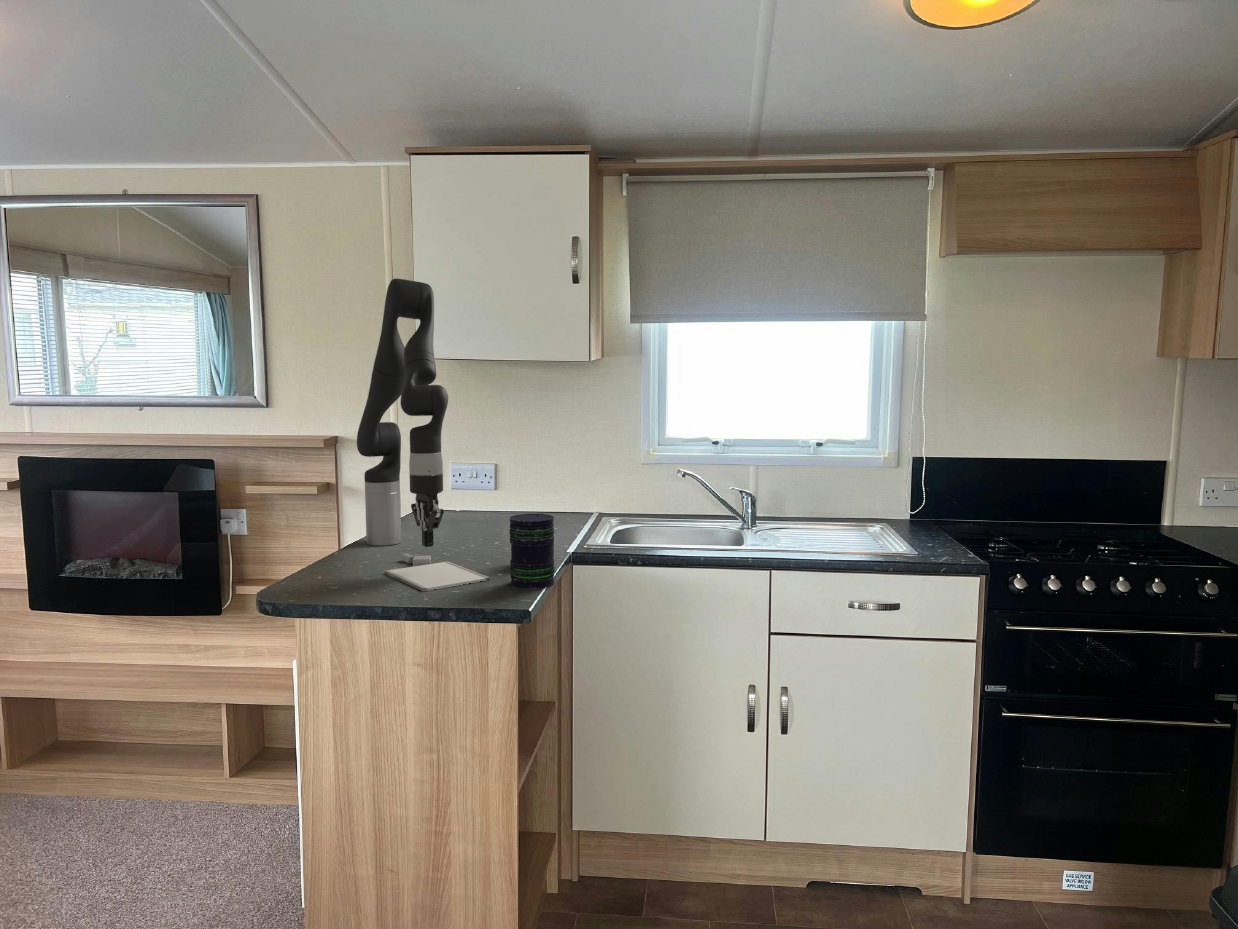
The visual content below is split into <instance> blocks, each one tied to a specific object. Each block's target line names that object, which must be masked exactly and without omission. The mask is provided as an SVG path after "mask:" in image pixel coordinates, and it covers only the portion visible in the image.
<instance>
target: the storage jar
mask: <svg viewBox="0 0 1238 929" xmlns="http://www.w3.org/2000/svg"><path fill="white" fill-rule="evenodd" d="M554 518H555V517H554V515H552V514H551V515H550V514H547V513H544V514H543V513H523V514H516V515H514V514H513V515H511V516H510V517H509V533H508V534H509V543H510V551H511V555H510V561H509V562H510V563H509V564H510V566H509V574H510V580H511V581H510V586H511V588H515V589H520V590H541V589H548V588H550V587H553V586H554V585H555V580H554V577H555V574H554V573H555V572H556V571H555V558H554V559H553V542H554V543H555V535H554V534H555V528H554V527H555V523H554Z"/></svg>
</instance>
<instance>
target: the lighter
mask: <svg viewBox="0 0 1238 929" xmlns="http://www.w3.org/2000/svg"><path fill="white" fill-rule="evenodd" d="M401 561H402V562H404V563H407V564H412V567H414V566H421V565H428V564H432V557H431V555H430V554H429V555H412V554H410V553H402V554H401Z"/></svg>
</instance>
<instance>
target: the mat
mask: <svg viewBox="0 0 1238 929" xmlns="http://www.w3.org/2000/svg"><path fill="white" fill-rule="evenodd" d="M384 574H385V575H387V576H390V577H391V578H393V579H396V580H398V581H400V582H402V583H404V584H406V585H409V586H411V587H413V588H415V589H417V590H419V591H420V592H429V591H435V590H434V589H436V590H440V589H446V588H452V587H453V586H454V587H458V586H459V585H460V586H464V585H463V584H465V585H470V584H469V583H471V584H476V583H481V582H480V581H483V582H487V581H488V580H489V581H490V576H487V575H484V574H481V573H479V572H477V571H474V570H472V569H468V568H466V567H463V566H460V565H459V564H455V563H453V562H451V561H447V560H445V561H442V562H436V563H431V564H428V565H421V566H414V567H413V566H409V567H401V568H394V569H385V570H384Z"/></svg>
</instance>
